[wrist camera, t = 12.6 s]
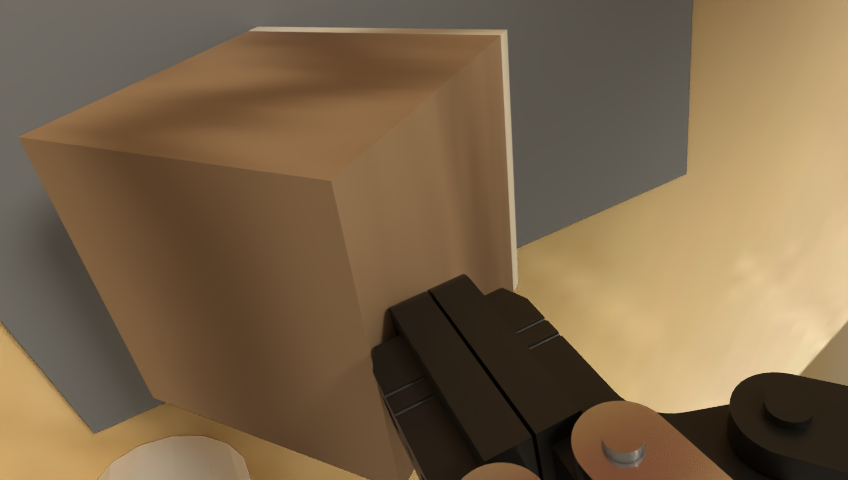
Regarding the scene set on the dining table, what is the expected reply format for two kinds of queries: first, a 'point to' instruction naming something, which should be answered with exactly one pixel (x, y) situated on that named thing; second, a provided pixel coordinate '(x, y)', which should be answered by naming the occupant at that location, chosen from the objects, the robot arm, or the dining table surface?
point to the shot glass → (179, 461)
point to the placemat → (334, 8)
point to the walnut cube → (290, 218)
